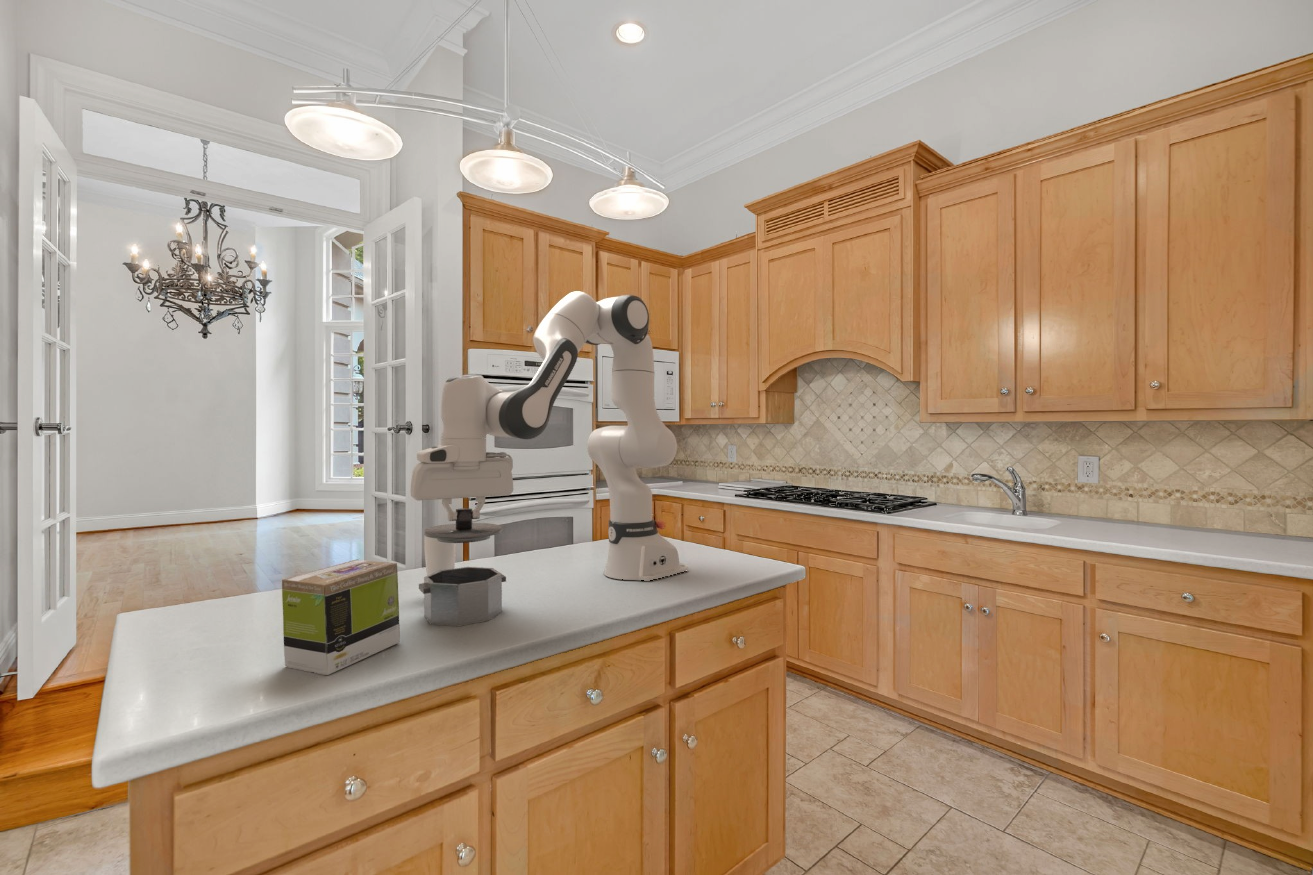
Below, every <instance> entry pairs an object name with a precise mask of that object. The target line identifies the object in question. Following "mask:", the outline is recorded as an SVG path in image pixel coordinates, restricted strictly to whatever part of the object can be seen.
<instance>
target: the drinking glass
mask: <svg viewBox="0 0 1313 875" xmlns="http://www.w3.org/2000/svg"><path fill="white" fill-rule="evenodd" d="M423 536H424V541H423V542H424V543H423V547H424V548H423V550H424V559H425V570H426V576H428V575H431V574H433V573H435V572H438V571H440V570H447V569H454V568H455V567H456V566H455V565H456V554H457V552H456V551H457V543H445V542H440V541H437V538H430V537H426V536H425V535H423Z"/></svg>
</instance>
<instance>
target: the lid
mask: <svg viewBox="0 0 1313 875" xmlns="http://www.w3.org/2000/svg"><path fill="white" fill-rule="evenodd" d="M472 510H473V508H470V507H469V508H468V507H467V508H466V507H465V508H462V507H461V508H456V509H455V512H457V516H456V517H457V521H455V523H449V524H441V525H434V526H430V527H427V528H425V529H424V532H423V533H424V535H423V536H426V537H430V538H437V541H440V542H445V543H456V544H465V543H466V544H467V543H475V542H482V541H483V542H484V541H486V540H489V539H490V538H491V537H492V536H496V535H499V534H501V533H502V532H503V526H502V525H500V524H495V523H488V522H487V523H485V522H473V519H472Z"/></svg>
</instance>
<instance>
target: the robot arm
mask: <svg viewBox="0 0 1313 875" xmlns="http://www.w3.org/2000/svg"><path fill="white" fill-rule="evenodd" d="M649 314H650V313H649V310H648V307H647V305H646V303H645V302H644V300H643V299H642V298H641V297H639V296H637V295H634V294H621V295H619V296H612V297H611V296H610V297H607V298H603V299H601V300H599V301H596V300H595V299H594V298H593V297H592V296H591V295H589V294H588V293H586V292H585V291H579V290H576V291H572V292H569V293H568V294H567V295H565V296H564V297H562V298H561V299H560V300H559V301H558V302H557V303H556V304H554V306H553V307H552V308H551V309H550V310H549V312H548V313H546V315H545V316H544V318H543V319H542V320H541V321H540V323H539V324H538V325H537V327H536V329H535V331H534V334H533V336H532V341H533V346H534V350H535V351H536V352H537V354H538V356H540V358H541V359H542V360H543V362H542V363H541V365H540V366H539V368H538V370H537V372H536V373H535V374H534V376H533V378H532V380H531V381H530V382H529V384H527V385H526V386H525V387H522V388H519V389H517V390H514V391H504V390H502V389H499V388H497V387H495V385H494V386H493V384H491V383H489V382H488V381H487V380H486V379H485V378H484V376H483V375H481V374H478V373H472V374H464V375H456V376H450V377H449V378H448V379H446V380H445V382H444V385H443V388H442V395H441V407H440V408H441V409H440V411H441V412H440V415H441V416H440V417H441V422H442V425H443V427H442V428H443V429H442V433H441V438H440V442H441V443H440V444H438V445H435V446H432V447H430V448H429V447H428V448H426V449H422V450H419V451H418V452H417V454H416V459H417V461H418V463H416V465H415V466H414V468H413V470H412V474H411V478H410V479H411V481H410V496H411V497H412V498H413V499H414V500H416V501H419V502H421V501H433V500H435V501H436V500H437V501H438V500H441V504H442V506H443V507H444V509H445V510H446V512H447V521H448V522H456V521H457V517H456V516H457V512H456V510H454V511H453V509H452V508H451V506H450V505H452V503H453V501H452V500H455V499H467V498H468V499H469V498H471V499H472V498H475V502H476V505H475V507H474V508H473V509H472V520H479V519H480V518H481V516H480V513H481V510H482V509H483V507H484V505H485V504H486V497H487V498H488V497H501V496H502V497H503V496H505V497H506V496H510V495H511V494H512V493H513V491H514V481H513V478H514V477H513V472H512V470H513V469H514V465H513V464H514V461H513V458H512V456H511V455H510V454H508V453H507V452H504V451H502V452H501V451H500V452H493V451H492V452H491V451H490V452H489V451H487V435H490V436H493V437H504V438H516V439H520V440H532V439H536V438H537V437H538V436H540V435H541V434H542V433H543V432H544V431H545V430H546V428H547V427H548V424H549V421H550V418H551V414H552V410H553V407H554V404H555V402H556V399H557V398H558V396H559V394H560V393H561V391H562V389H563V387H564V386H565V383H566V382H567V381H568V378H569V377H570V375H571V373H572V371H573V370H574V367H575V366H576V365H575V364H576V363H577V361H578V360H577V359H578V357H579V353H580V352H581V350H582V348H583V347H584V345H585V344H587V345H590V346H591V345H593V346H599V345H606V344H607V345H610V346H611V349H612V350H611V351H612V352H613V356H612V357H613V358H612V370H611V376H612V377H611V402H612V403H613V405H614V406H615V407H616V408H618V410H621V411H622V412H623V414H625V417H626V421H627V425H607V426H603V427H599V428H596V429H594V430H592V432H591V433H590V435H589V437H588V439H587V444H586V446H587V452H588V456H589V457H590V459H591V460H592V462H594V463H595V465H597V466H598V468H599V469H600V471H601V472H602V475H603V476H604V478H605V482H606V484H607V488H608V494H609V510H610V512H609V516H610V517H609V520H608V529H607V531H608V532H607V533H608V534H607V535H608V542H609V543H608V553H607V559H606V560H607V561H606V564H605V569H604V572H603V574H604V576H606V577H608V578H611V579H616V580H622V579H623V581H624V580H625V581H641V580H644V581H643V582H651V581H650V580H653V579H657V580H659V579H658V578H661V579H663V578H662V577H664V578H666V577H665V576H668V577H671V576H670V575H672V574H676V575H678V574H677V573H679V572H683V571H686V570H688V571H689V569H688V566H687V565H686V564H683V563H681V562H680V556H679V552H678V549H677V548H676V546H675V545H674V544H672V543H671V542H670V541H669V540H668V539H666V538H665V537H664V536H662V535H661V534H660V533H659V531H658V529H660V530H664V529H665V528H666V523H665V521H663V520H662V521H661V520H654V519H653V493H652V490H651V488H650V486H648V484H647V483H645V482H643V481H642V480H641V479H640V476H638V474H637V468H639V469H641V468H642V469H656V468H660V467H667V466H668V465H671V463H672V462H673V460H674V459H675V457H676V455H677V450H678V441H677V439H676V436H675V435H674V433H673V431H671V429H669V428H668V427H667V426H666V424H665V423H664V422H663V421H662V419H661V418H660V416H659V413H658V410H657V407H656V403H655V360H654V358H655V356H654V350H653V349H654V348H653V343H652V340H651V337H650V336H649V335H648V332H649V327H650V315H649ZM672 576H673V575H672ZM653 581H654V580H653Z"/></svg>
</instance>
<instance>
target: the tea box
mask: <svg viewBox="0 0 1313 875" xmlns="http://www.w3.org/2000/svg"><path fill="white" fill-rule="evenodd" d="M398 576H399V575H398V563H397V562H387V561H373V560H366V559H365V560H362V559H358V558H357V559H353V560H349V561H347V562H342V563H339V564H338V563H337V564H334V565H332V566H327V567H324V568H320V569H319V568H318V569H316V570H313V571H309V572H305V573H301V574H299V575H294V576H291V577H287V578H283V579H281V594H282V595H281V597H282V599H281V600H282V624H283V625H282V628H283V632H282V633H283V634H282V635H283V651H284V652H283V654H284V666H285V667H286V668H288V667H290V669H292V668H293V670H297V669H298V671H302V670H304V671H303V672H308V673H311V672H314V673H313V674H317V675H323V676H329V675H331V674H333V673H335V672H338V671H341V670H342V669H345V668H346V667H349V666H351V665H353V664H356V663H358V662H359V661H362V660H365V659H366V658H368V657H371V656H373V655H375V654H378V653H379V652H382V651H384V650H386V649H389V648H390V647H392V646H395V645H397V644H400V642H401V633H400V632H401V631H400V630H401V629H400V626H401V625H400V604H399V602H400V600H399V599H400V598H399V578H398Z"/></svg>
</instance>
